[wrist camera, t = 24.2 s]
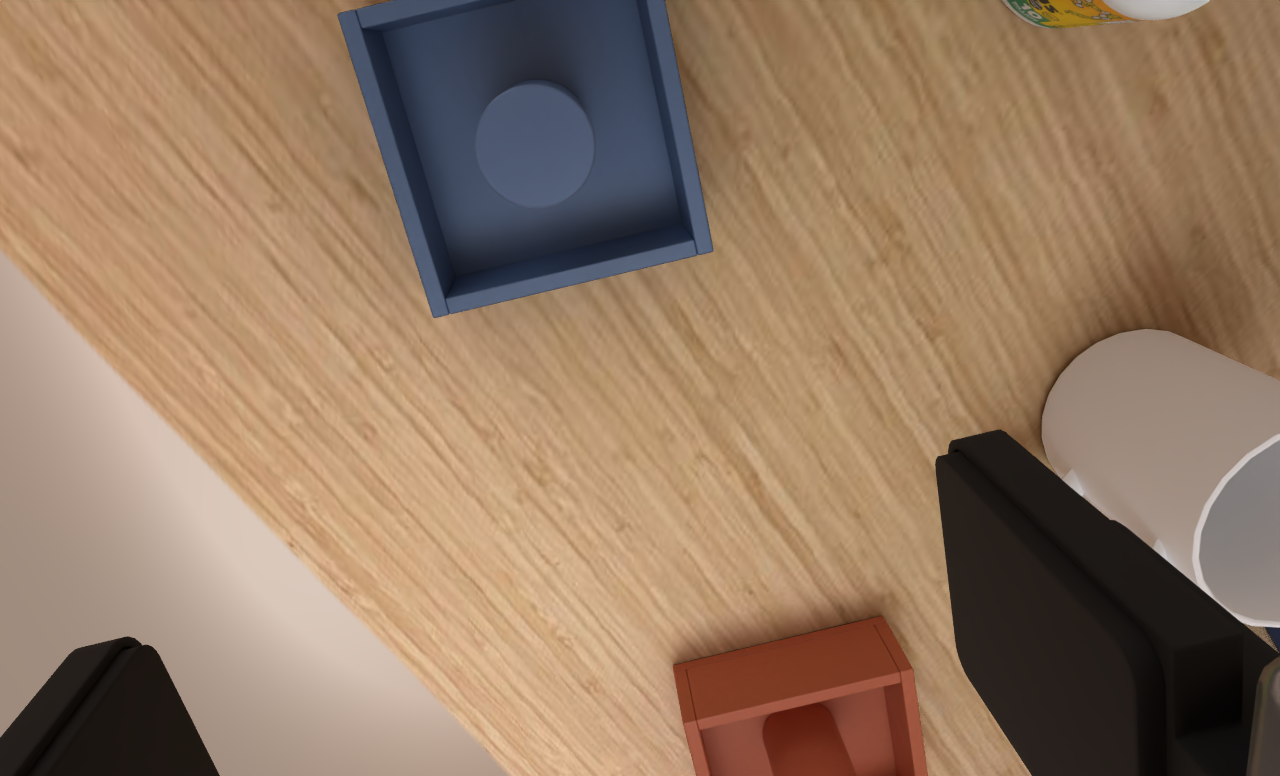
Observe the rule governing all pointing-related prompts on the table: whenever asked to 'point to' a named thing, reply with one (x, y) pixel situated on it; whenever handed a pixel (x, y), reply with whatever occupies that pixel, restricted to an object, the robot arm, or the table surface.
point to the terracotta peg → (806, 743)
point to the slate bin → (452, 105)
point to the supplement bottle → (1098, 11)
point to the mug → (1178, 459)
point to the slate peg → (535, 144)
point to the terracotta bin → (805, 700)
